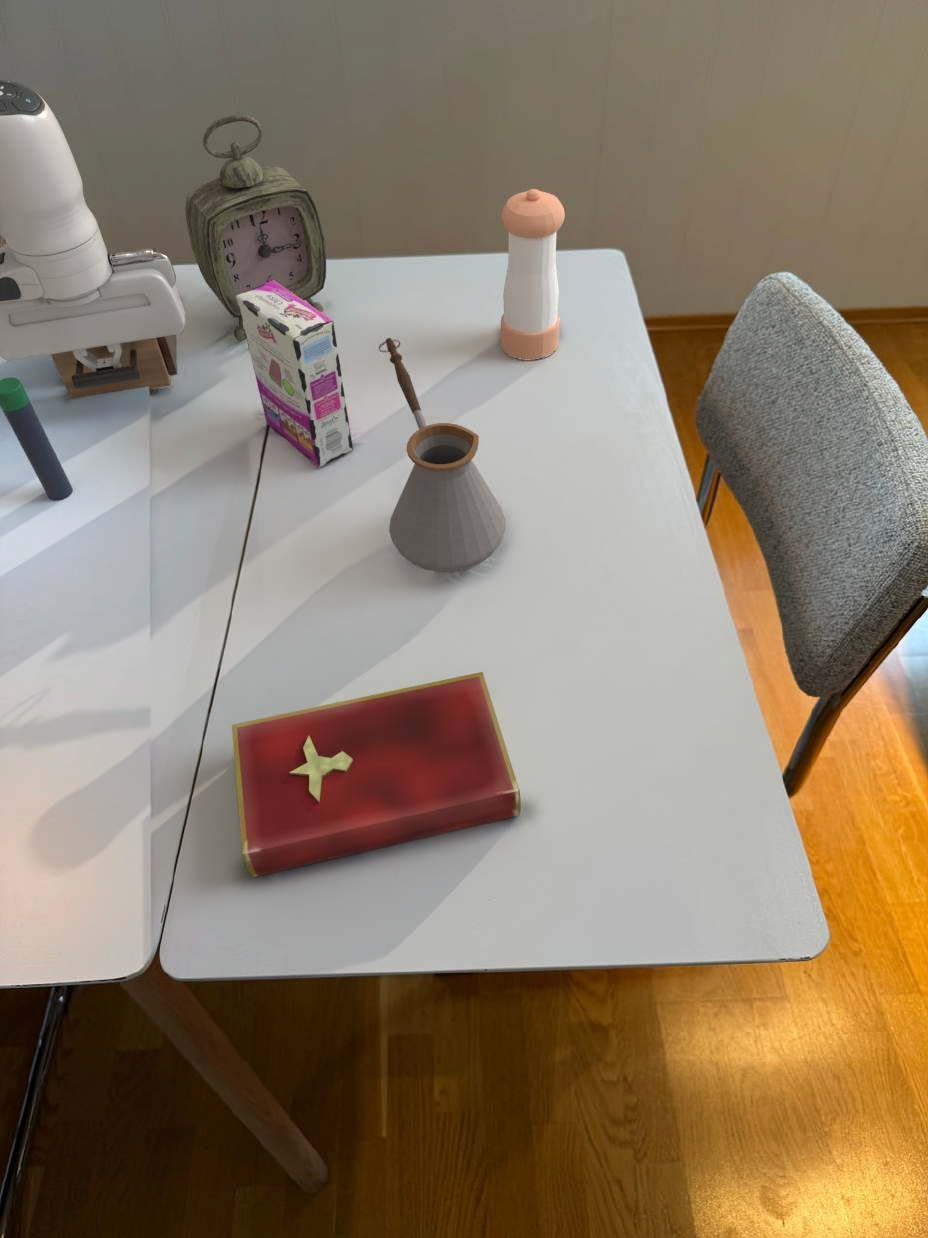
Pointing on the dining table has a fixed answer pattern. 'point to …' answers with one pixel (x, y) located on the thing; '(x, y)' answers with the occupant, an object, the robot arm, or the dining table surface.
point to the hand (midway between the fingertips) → (109, 375)
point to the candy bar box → (297, 371)
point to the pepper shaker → (531, 275)
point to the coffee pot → (443, 494)
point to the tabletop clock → (254, 228)
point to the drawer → (115, 369)
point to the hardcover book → (370, 773)
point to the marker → (33, 439)
